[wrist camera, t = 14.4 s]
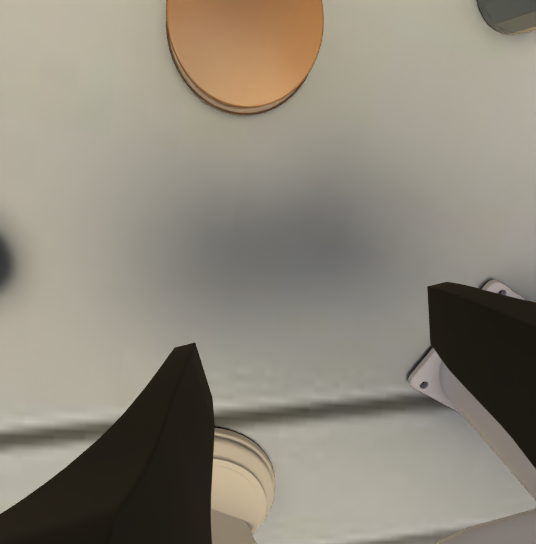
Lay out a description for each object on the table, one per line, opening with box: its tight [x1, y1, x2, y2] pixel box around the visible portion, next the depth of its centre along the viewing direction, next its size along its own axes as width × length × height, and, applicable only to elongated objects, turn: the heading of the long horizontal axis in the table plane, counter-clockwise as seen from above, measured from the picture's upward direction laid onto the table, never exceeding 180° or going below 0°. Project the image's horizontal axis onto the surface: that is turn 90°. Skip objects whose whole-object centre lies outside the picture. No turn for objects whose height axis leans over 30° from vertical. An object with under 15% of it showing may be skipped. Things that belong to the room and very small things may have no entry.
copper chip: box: [166, 0, 324, 108], centre depth 15 cm, size 6×6×2 cm
